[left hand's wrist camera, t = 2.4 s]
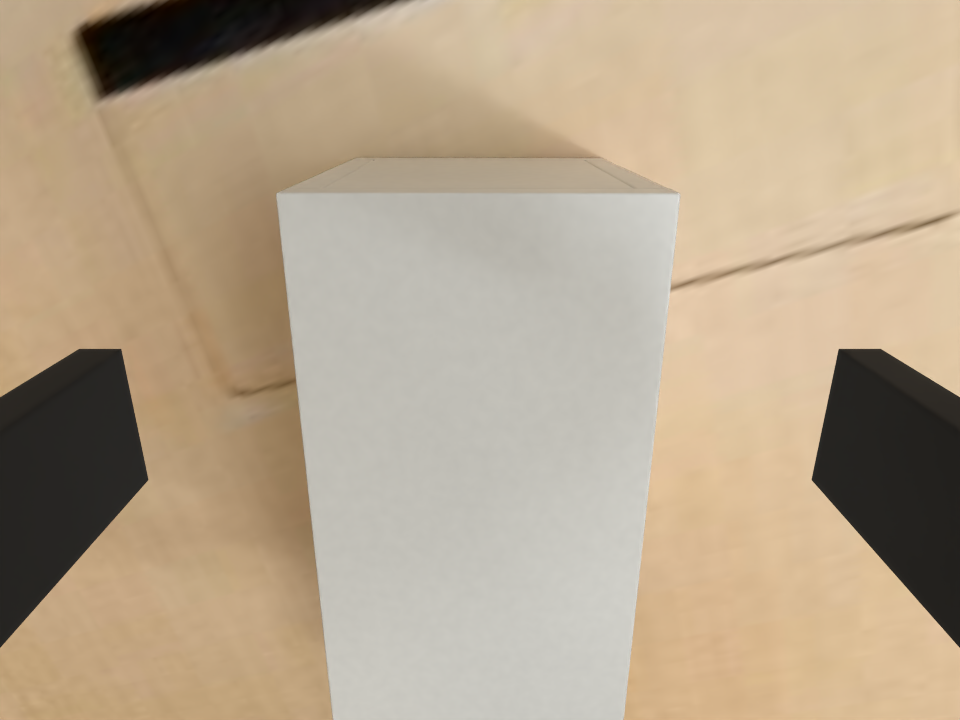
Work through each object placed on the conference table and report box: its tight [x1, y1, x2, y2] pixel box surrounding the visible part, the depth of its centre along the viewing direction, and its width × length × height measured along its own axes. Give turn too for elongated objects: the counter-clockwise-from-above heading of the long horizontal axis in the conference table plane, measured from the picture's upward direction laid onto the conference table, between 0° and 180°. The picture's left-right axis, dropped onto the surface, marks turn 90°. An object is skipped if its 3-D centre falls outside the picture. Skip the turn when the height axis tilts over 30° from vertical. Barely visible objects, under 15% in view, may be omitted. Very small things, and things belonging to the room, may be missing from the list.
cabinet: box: [276, 158, 680, 720], centre depth 24 cm, size 19×10×11 cm, turn 0°
